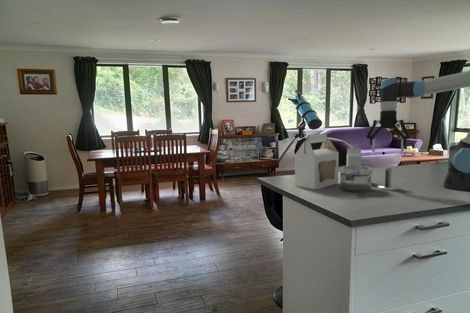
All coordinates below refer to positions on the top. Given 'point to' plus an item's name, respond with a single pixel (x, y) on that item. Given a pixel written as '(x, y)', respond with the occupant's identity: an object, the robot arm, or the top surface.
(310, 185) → the gable box
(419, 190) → the top surface
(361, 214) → the top surface
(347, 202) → the top surface
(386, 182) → the lid
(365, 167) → the pot
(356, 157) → the milk carton
